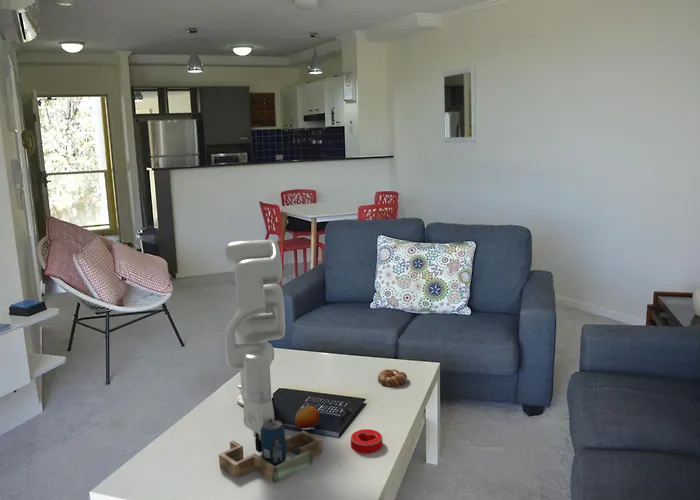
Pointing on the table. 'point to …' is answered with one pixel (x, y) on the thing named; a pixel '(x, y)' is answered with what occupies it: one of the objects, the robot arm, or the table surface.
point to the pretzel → (392, 378)
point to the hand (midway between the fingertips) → (261, 449)
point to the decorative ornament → (366, 441)
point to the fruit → (307, 417)
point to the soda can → (273, 443)
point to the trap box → (298, 444)
